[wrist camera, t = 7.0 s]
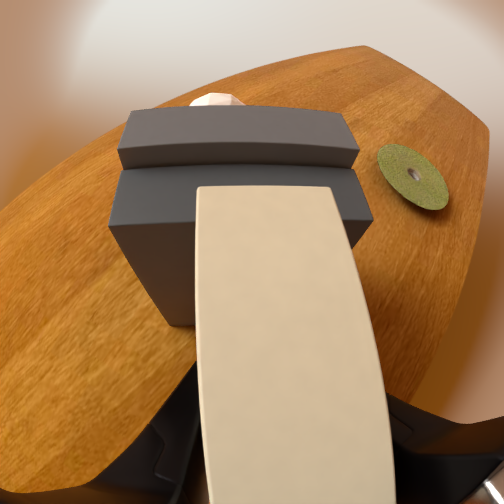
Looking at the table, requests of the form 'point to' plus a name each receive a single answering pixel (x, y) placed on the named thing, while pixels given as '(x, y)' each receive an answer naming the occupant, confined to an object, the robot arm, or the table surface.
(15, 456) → the table surface
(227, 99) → the geometric ball
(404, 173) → the green disc
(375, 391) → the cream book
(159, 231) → the grey books
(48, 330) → the table surface
